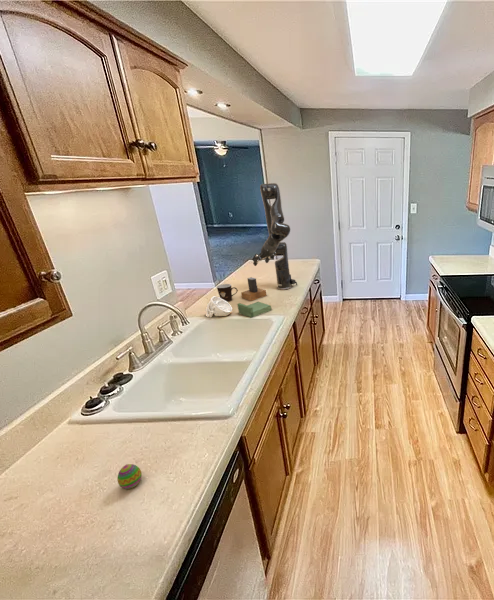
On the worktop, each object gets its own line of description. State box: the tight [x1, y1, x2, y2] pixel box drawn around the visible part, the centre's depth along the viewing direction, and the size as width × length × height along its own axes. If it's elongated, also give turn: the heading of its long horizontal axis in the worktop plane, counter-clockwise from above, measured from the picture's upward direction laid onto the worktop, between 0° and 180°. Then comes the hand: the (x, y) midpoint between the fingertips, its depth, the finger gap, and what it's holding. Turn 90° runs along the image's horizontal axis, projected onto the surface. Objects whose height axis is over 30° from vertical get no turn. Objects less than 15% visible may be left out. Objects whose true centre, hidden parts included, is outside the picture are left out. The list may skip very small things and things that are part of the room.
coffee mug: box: [216, 283, 238, 303], centre depth 213 cm, size 12×9×10 cm
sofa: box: [236, 301, 272, 318], centre depth 196 cm, size 14×12×6 cm
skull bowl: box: [204, 295, 234, 318], centre depth 191 cm, size 10×14×12 cm
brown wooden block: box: [240, 287, 267, 302], centre depth 221 cm, size 12×10×4 cm
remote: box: [247, 276, 258, 292], centre depth 218 cm, size 3×5×9 cm, turn 56°
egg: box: [117, 463, 143, 490], centre depth 85 cm, size 5×5×6 cm
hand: (260, 263), depth 207 cm, fingers open, 8 cm apart
